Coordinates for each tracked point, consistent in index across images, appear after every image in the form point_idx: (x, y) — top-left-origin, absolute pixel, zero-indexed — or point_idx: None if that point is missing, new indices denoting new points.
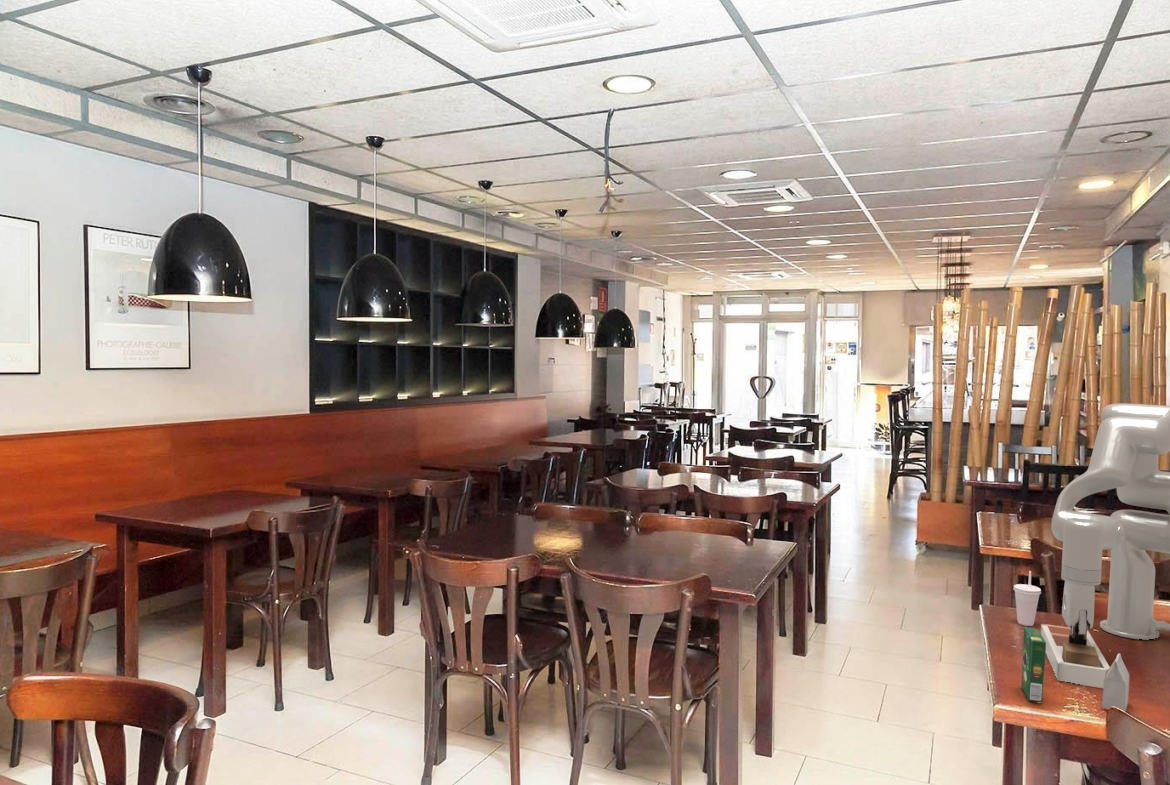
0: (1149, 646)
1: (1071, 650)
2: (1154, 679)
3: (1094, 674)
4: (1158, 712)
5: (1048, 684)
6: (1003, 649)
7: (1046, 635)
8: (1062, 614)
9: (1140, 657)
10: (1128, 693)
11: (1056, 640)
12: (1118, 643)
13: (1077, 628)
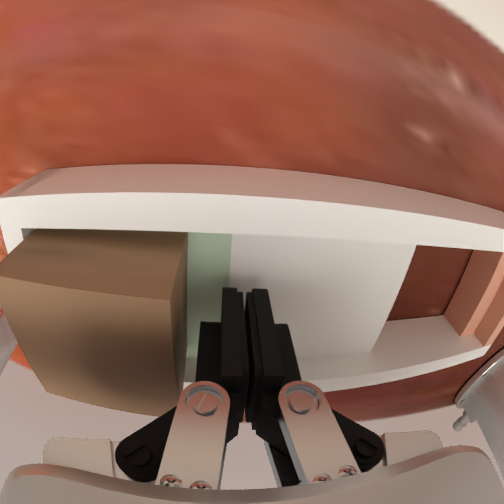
0: (435, 401)
1: (14, 307)
2: (245, 417)
3: None
4: (27, 366)
5: (7, 136)
6: (403, 11)
7: (475, 224)
8: (434, 478)
9: (387, 401)
10: (12, 351)
11: (484, 257)
12: (457, 369)
13: (144, 481)
